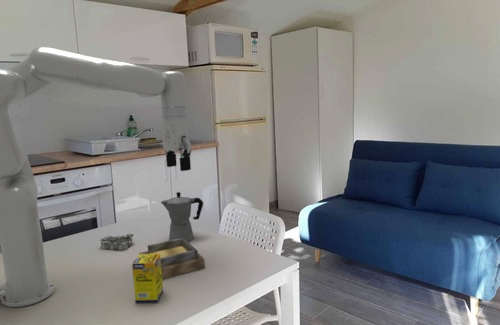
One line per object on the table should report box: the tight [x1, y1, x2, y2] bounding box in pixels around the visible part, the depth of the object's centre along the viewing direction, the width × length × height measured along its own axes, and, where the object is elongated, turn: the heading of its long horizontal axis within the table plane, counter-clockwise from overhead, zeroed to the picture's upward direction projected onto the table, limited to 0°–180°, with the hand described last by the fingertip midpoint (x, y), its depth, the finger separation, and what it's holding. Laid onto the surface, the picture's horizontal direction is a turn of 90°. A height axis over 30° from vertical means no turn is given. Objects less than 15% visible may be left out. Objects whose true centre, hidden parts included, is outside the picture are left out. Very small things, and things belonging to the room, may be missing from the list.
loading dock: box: [138, 238, 206, 280], centre depth 118 cm, size 16×16×6 cm
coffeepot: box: [160, 191, 204, 243], centre depth 138 cm, size 15×9×18 cm, turn 92°
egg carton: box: [98, 233, 135, 252], centre depth 134 cm, size 11×8×4 cm
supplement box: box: [131, 254, 164, 304], centre depth 98 cm, size 6×6×11 cm
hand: (178, 168), depth 117 cm, fingers open, 9 cm apart
